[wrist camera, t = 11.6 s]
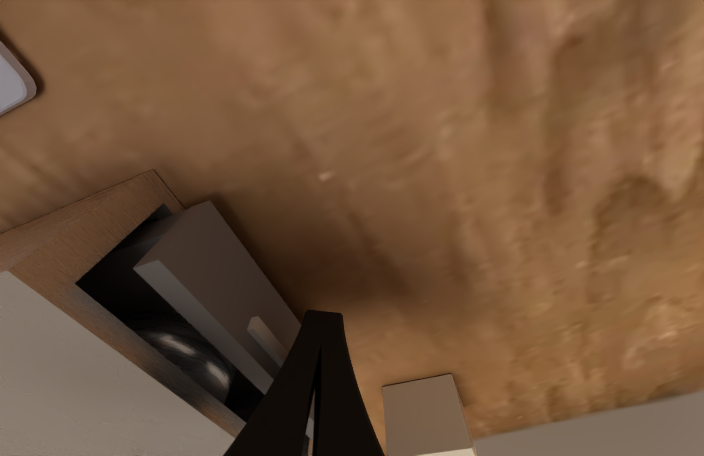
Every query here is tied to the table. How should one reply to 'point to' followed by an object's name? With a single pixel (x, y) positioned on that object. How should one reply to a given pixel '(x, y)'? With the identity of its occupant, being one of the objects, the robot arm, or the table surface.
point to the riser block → (426, 419)
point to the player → (93, 345)
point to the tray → (203, 295)
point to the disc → (184, 349)
